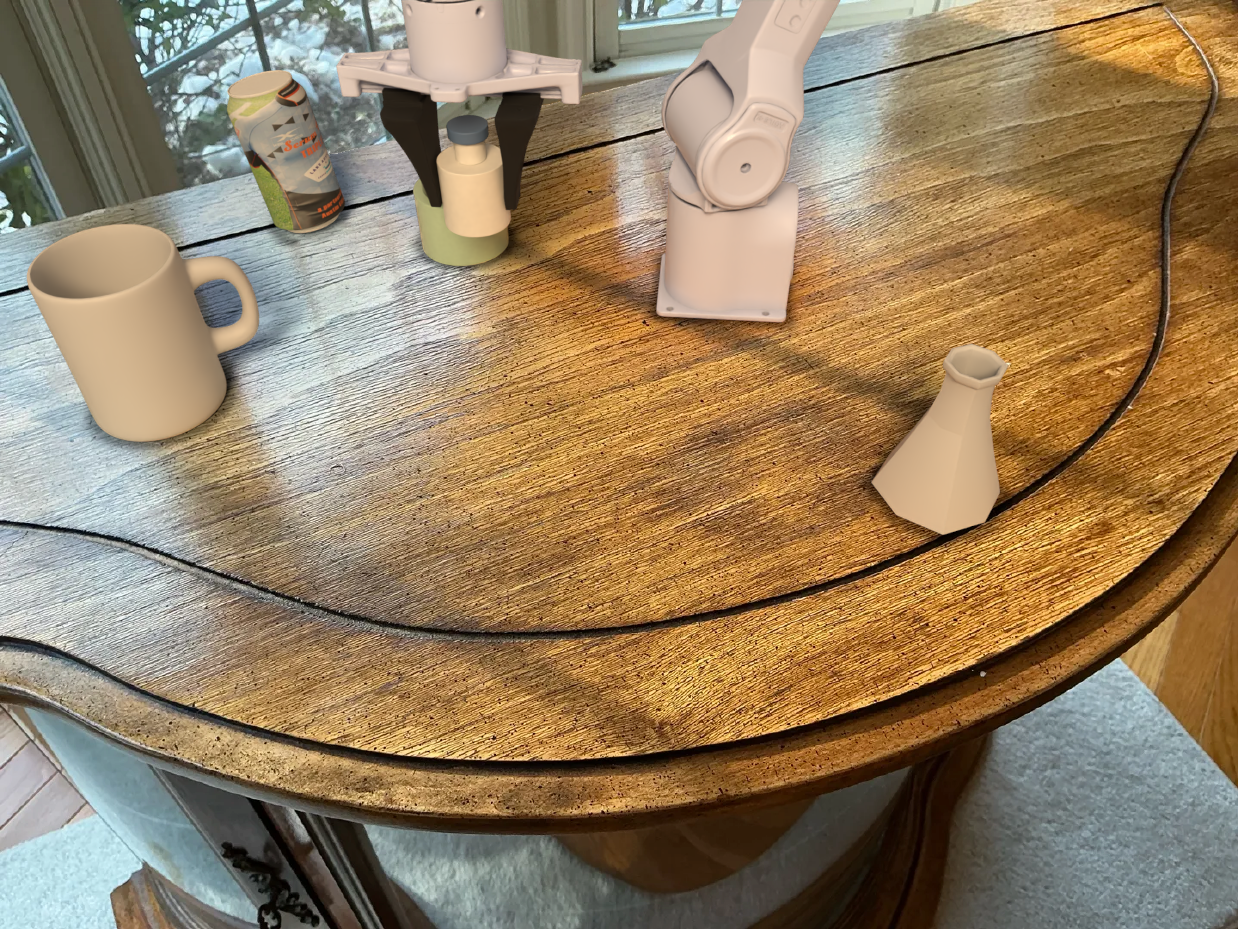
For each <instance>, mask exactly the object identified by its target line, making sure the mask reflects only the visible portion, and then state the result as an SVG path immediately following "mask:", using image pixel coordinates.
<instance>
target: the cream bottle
mask: <svg viewBox="0 0 1238 929" xmlns="http://www.w3.org/2000/svg"><path fill="white" fill-rule="evenodd" d="M445 128H446V136H447V139H448V140H449V141H450V142H451V143H452V144H453V145H451V146H448V147H447V148H445V149H443V150H441V153H440V154H439V155H438V157H437V169H438V176H439V183H440V190H441V197H442V204H443V211H444V218H445V224H446V226H447V228H448V229H449V230H450V231H451V232H453V233H455V234H457V235H460V236H465V237H485V236H490V235H493V234H496V233H498V232H500V231H502V230H504V229H505V228H506V227H507V226H508V227H509V224H510V223H511V220H512V215H511V214H512V213H511V210H506V208H505V203H504V188H503V165H502V158H501V152H500V147H498V146H497V145H494V144H492V143H488V142H486V140H487V139H488V138H489V136H490V131H489V130H490V128H489V122H488V120H487V119H486V118H484V117H482V116H480V115H475V114H464V115H458V116H455V117H453V118H451V119H449V120H448V121H447V122H446V125H445Z"/></svg>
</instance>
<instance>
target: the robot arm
mask: <svg viewBox="0 0 1238 929" xmlns="http://www.w3.org/2000/svg"><path fill="white" fill-rule="evenodd" d="M400 2H401V10H402V15H403V21H404V29H405V36H406V41H407V47H406V48H396V49H388V50H387V49H385V50H378V51H368V52H365V51H364V52H344V54H343V55H342V56H341V58H340V60H339V61H338V63H337V64H336V65H335V68H336V73H337V78H338V83H339V88H340V92H341V96H342V97H343V98H359V97H361V95H362V93H365V94H381V95H382V108H381V110H380V112H379V117H380V121H381V123H382V126H383V128H384V129H385V130H386V131H387V132H388V133H389V135H391V136H392V138H393V139H394V140H395V141H396V143H397V144H398V145H399V147H400V148H401V149H402V151H403V152H404V154H405V155H406V157H407V158H408V160H409V162H410V163H411V165H412V167H413V168H414V170H415V173H416V175H417V176H418V179H419V178H420V180H421V182H422V185H423V187H424V189H425V192H426V194H427V197H428V199H429V202H430V205H431V207H441V206H442V197H441V190H440V183H439V176H438V169H437V157H438V155H439V154H440V153H441V152H442V147H441V140H440V131H439V130H440V128H439V117H438V103H448V104H449V103H450V104H453V103H454V104H458V103H459V104H460V103H463V102H465V101H467V99H468V98H469V97H489V98H490V97H491V98H501V101H500V104H498V106H497V110H496V113H495V116H494V118H493V119H494V121H493V122H494V128H495V131H496V136H497V141H498V145H499V148H500V152H501V158H502V165H503V188H504V203H505V208H506V210H510V211H517V209H518V207H519V203H520V200H521V193H522V192H521V191H522V190H521V188H522V176H523V169H524V164H525V163H524V162H525V158H526V153H527V149H528V146H529V143H530V140H531V139H532V136H533V133H534V130H535V128H536V126H537V123H538V121H539V117H540V114H541V111H542V106H543V104H544V100H545V99H551V100H556V99H557V100H561V103H562V104H564V105H580V103H581V99H582V95H583V94H582V93H583V90H584V89H583V60H582V59H576V58H575V59H574V58H564V57H563V58H562V57H561V58H560V57H556V56H555V57H554V56H548V55H544V54H538V53H534V52H532V53H531V52H527V51H524V50H523V51H522V50H517V49H513V48H512V49H511V48H507V43H506V31H505V18H504V17H505V16H504V8H503V7H504V6H503V0H400ZM840 2H841V0H741V2H740V4H739V7H738V9H737V11H736V13H735V14H734V17H733V19H732V21H731V23H730V24H729V25H728V26H727V27H725V28H723V29H722V30H720V31H718V32H716V33H714V34H712V35H711V36H710V37H708V38H707V39H705V41H704V42H703V44H702V45H701V48H700V50H699V51H698V54H697V55H696V58H694V60H693V62H692V63H691V64H690V65H689V66H688V67H687V68H686V69H685V70H684V71H683V72H681V73H679V75H678V76H676V78H675V79H674V80H673V81H672V82H671V84H670V85H669V86H668V88H667V90H666V91H665V94H664V97H663V99H662V103H661V110H660V114H661V116H660V117H661V118H660V119H661V123H662V127H663V130H664V132H665V133H666V135H667V136H668V138H669V140H670V141H671V142H673V143H674V144H675V145H676V146H675V152H674V153H675V154H674V157H673V160H672V163H671V165H670V167H669V170H668V175H667V198H666V199H667V202H666V224H665V225H666V226H665V227H666V230H665V252H664V253H663V254H662V255H661V261H660V270H659V280H658V289H657V298H656V299H657V300H656V309H655V310H656V315H657V316H660V317H665V318H667V317H668V318H686V319H687V318H688V319H706V320H722V321H723V320H724V321H725V320H727V321H748V322H765V323H783V322H785V321H786V320H787V308H788V306H787V305H788V300H789V299H788V298H789V293H790V286H791V281H792V280H793V275H794V268H795V267H794V266H795V250H796V243H797V234H798V223H799V211H800V210H799V207H800V206H799V205H800V203H799V202H800V194H799V193H800V192H799V185H798V184H797V183H794V182H789V181H784V179H785V177H786V175H787V173H788V170H789V166H790V161H791V152H792V145H793V141H794V138H795V135H796V133H797V130H798V129H799V127H800V125H801V123H802V122H803V120H804V117H805V90H804V89H805V88H804V70H805V66H806V64H807V63H808V61H809V59H810V57H811V56H812V53H813V52H814V50H815V48H816V46H817V44H818V43H819V41H820V39H821V37H822V35H823V33H824V31H825V30H826V28H827V26H828V25H829V23H830V21H831V19H832V17H833V15H834V13H835V11H836V10H837V8H838V6H839V4H840Z"/></svg>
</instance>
